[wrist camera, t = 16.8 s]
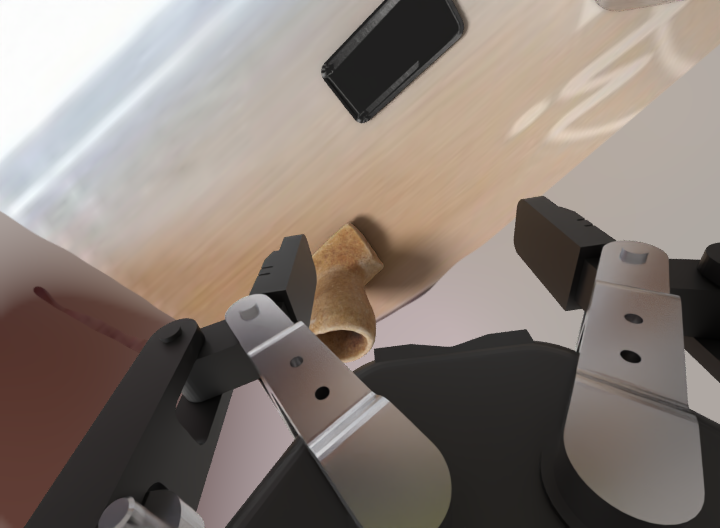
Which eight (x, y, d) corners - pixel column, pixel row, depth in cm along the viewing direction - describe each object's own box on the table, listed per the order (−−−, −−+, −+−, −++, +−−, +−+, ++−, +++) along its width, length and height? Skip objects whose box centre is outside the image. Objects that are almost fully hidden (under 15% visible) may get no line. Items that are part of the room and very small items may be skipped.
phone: (316, 71, 36) (428, -46, 31) (317, 70, 37) (425, -43, 32) (361, 128, 39) (468, 31, 34) (361, 126, 40) (465, 32, 35)
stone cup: (339, 313, 57) (334, 386, 44) (285, 276, 52) (263, 345, 40) (402, 262, 51) (418, 329, 38) (348, 215, 46) (346, 273, 34)
